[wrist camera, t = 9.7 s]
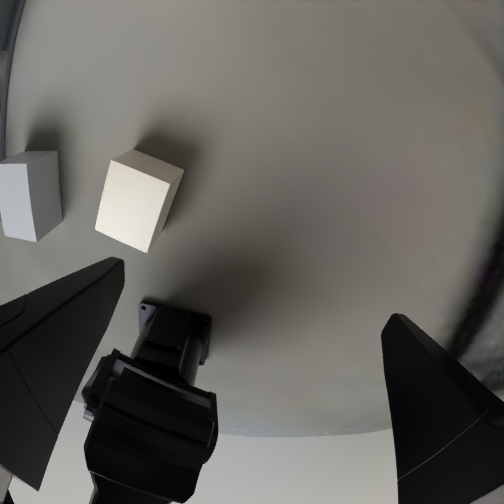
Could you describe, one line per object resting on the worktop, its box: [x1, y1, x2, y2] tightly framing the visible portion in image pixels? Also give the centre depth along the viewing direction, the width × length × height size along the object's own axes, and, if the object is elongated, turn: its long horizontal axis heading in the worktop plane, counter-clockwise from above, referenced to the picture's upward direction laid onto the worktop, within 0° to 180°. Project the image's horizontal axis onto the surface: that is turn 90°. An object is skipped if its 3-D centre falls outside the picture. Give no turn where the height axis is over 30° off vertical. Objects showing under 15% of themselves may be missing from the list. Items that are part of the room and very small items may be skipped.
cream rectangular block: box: [95, 149, 185, 253], centre depth 19 cm, size 5×4×4 cm
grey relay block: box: [0, 151, 63, 242], centre depth 18 cm, size 6×4×4 cm, turn 172°
